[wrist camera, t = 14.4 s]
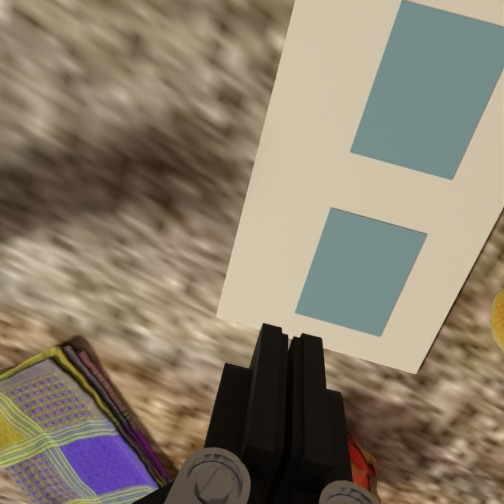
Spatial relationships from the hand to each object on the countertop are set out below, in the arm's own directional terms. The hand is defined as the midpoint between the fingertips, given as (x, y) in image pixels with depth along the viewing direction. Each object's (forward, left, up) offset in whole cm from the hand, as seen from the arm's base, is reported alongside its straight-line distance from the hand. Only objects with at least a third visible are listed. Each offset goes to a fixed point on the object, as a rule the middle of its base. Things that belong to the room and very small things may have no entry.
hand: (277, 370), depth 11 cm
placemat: (-2, +5, -19) cm, 20 cm away
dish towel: (+32, -15, -20) cm, 41 cm away
